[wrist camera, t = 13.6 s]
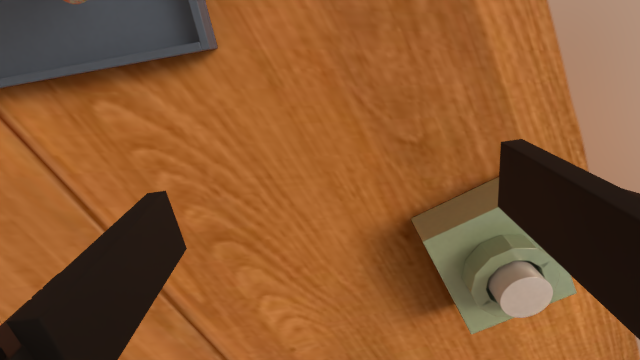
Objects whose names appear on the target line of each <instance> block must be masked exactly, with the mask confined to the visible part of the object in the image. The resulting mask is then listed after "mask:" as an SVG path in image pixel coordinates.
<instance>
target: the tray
mask: <svg viewBox="0 0 640 360" xmlns="http://www.w3.org/2000/svg"><path fill="white" fill-rule="evenodd" d="M217 48H218V47H217V43H216V39H215V36H214V32H213V28H212V24H211V21H210V17H209V13H208V9H207V6H206V2H205V0H87V1H85V2H84V3H81V4H71V3H68V2H65V1H64V0H0V88H5V87H11V86H16V85H21V84H27V83H32V82H38V81H43V80H49V79H54V78H60V77H65V76H70V75H76V74H81V73H87V72H92V71H98V70H103V69H109V68H114V67H119V66H125V65H130V64H136V63H141V62H147V61H152V60H158V59H163V58H168V57H174V56H179V55H185V54H190V53H196V52H201V51H207V50H212V49H217Z"/></svg>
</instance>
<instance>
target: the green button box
mask: <svg viewBox="0 0 640 360" xmlns="http://www.w3.org/2000/svg"><path fill="white" fill-rule="evenodd" d="M498 189H499V177H497V178H495V179H493V180H491V181H489V182H487V183H485V184H483V185H480V186H478V187H476V188H474V189H472V190H470V191H468V192H466V193H464V194H461V195H459V196H457V197H455V198H453V199H451V200H449V201H447V202H445V203H443V204H440V205H438V206H436V207H434V208H432V209H430V210H428V211H426V212H424V213H421V214H419V215H417V216H415V217H413V218H411V221H412V223H413V225H414V227H415V229H416V230H417V232H418V234H419V236H420V238H421V240H422V242H423V244H424V246H425V248H426V250H427V252H428V253H429V255H430V257H431V259H432V261H433V263H434V265H435V267H436V269H437V270H438V272H439V274H440V276H441V278H442V280H443V282H444V284H445V286H446V287H447V289H448V291H449V293H450V295H451V297H452V299H453V301H454V303H455V305H456V306H457V308H458V310H459V312H460V314H461V316H462V318H463V320H464V322H465V323H466V325H467V327H468V329H469V331H470V333H471V334H474V333H476V332H479V331H482V330H484V329H487V328H489V327H492V326H494V325H497V324H499V323H502V322H505V321H507V320H510V319H512V318H515V317H512V316H510V315H508V314H506V313H505V312H504V311H503V310H502V309H501V307H500V306H499V304H498V303H497V301H496V300H495V298H494V297H493V296H492V294H491V293H490V291H489V288H488V281H489V278H490V276H491V275H492V274H493V273H494V272H495V271H496V270H497V269H498V268H499V267H501V266H503V265H505V264H508V263H510V262H512V261H525V262H528V263H530V264H531V265H533V266H534V267H535V268H536V269H537V270H538V271H539V273H540V274H541V275H542V276H543V277H544V278H545V279H546V280H547V281H548V282H549V283H550V284H551V286H552V289H553V296H552V299H551V301H550V303H553V302H555V301H558V300H561V299H563V298H566V297H568V296H571V295H573V294H576V293H577V292H576V289H575V286H574V284H573V281H572V278H571V275H570V274H569V273H568V272H567V271H566V270H565V269H564V268H563V267H562V266H561V265H559V264H558V263H557V262H556V261H555V260H554V259H553V258H552V257H551V256H550V255H549V254H548V253H547V252H546V251H545V250H543V249H542V248H541V247H540V246H539V245H538V244H537V243H536V242H535V241H534V240H533V239H532V238H531V237H530V236H529V235H527V234H526V233H525V232H524V231H523V230H522V229H521V228H520V227H519V226H518V225H517V224H516V223H515V222H514V221H513V220H511V219H510V218H509V217H508V216H507V215H506V214H505V213H504V212H503V211H502V210H501V209H500V208H499V207H498ZM550 303H549V304H550Z"/></svg>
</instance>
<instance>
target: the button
mask: <svg viewBox="0 0 640 360" xmlns="http://www.w3.org/2000/svg"><path fill="white" fill-rule="evenodd" d="M488 288H489V291H490V293H491V294H492V296H493V297H494V298H495V300H496V301H497V303H498V304H499V306H500V307H501V309H502V310H503V311H504V312H505V313H506V314H508V315H510V316H512V317H517V318H524V317H529V316H532V315H535V314H537V313H539V312H541V311H542V310H543V309H545V308H546V307H547V306H548V304H549V303H550V301H551V299H552V296H553V289H552V286H551V284H550V283H549V282H548V281H547V280H546V279H545V278H544V277H543V276H542V275H541V274H540V273H539V271H538V270H537V269H536V268H535V267H534V266H533V265H531V264H530V263H528V262H525V261H512V262H510V263H508V264H505V265H503V266H501V267H499V268H498V269H497V270H496V271H495V272H494V273H493V274H492V275H491V276H490V278H489V281H488Z"/></svg>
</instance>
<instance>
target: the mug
mask: <svg viewBox="0 0 640 360" xmlns="http://www.w3.org/2000/svg"><path fill="white" fill-rule="evenodd" d="M64 1H65V2H68V3H71V4H81V3H84V2H85V1H87V0H64Z"/></svg>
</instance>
